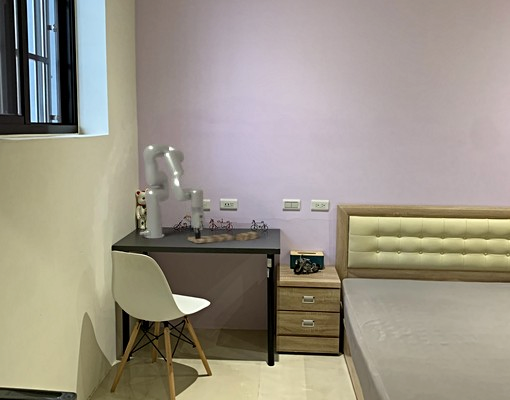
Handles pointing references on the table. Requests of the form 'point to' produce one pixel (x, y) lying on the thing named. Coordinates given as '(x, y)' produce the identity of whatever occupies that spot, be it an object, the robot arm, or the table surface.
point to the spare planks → (247, 236)
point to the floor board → (223, 237)
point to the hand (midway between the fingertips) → (197, 238)
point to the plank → (202, 239)
